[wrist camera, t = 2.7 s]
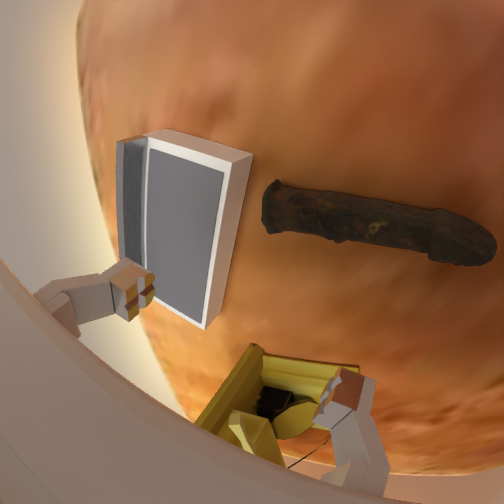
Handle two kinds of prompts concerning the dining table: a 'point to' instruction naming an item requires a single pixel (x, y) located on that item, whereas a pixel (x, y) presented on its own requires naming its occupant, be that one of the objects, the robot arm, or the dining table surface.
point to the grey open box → (181, 216)
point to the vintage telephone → (267, 402)
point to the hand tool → (377, 224)
